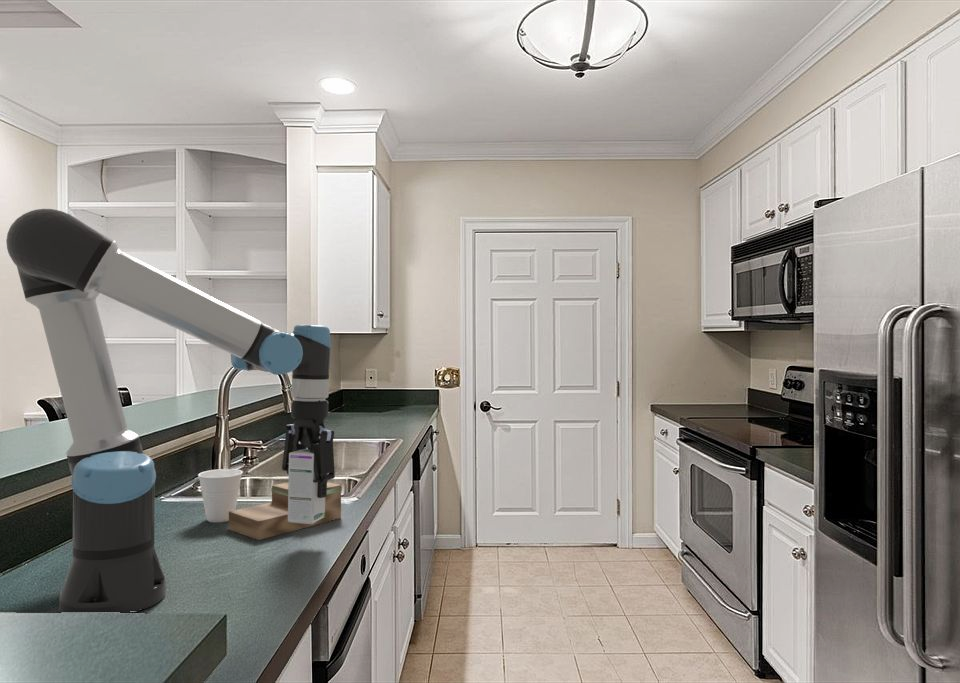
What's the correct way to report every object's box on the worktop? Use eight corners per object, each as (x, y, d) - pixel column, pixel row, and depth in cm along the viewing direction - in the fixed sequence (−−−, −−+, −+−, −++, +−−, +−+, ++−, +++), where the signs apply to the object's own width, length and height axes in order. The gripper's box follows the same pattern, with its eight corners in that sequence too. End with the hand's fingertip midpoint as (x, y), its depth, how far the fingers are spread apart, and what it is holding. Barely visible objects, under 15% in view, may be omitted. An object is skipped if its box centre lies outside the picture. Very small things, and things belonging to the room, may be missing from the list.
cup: (191, 518, 154) (191, 472, 154) (233, 511, 161) (233, 467, 161) (206, 527, 147) (206, 479, 147) (249, 520, 154) (249, 473, 154)
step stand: (260, 540, 138) (260, 503, 138) (228, 529, 146) (228, 493, 146) (343, 518, 155) (343, 485, 155) (310, 509, 163) (310, 477, 163)
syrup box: (313, 524, 132) (315, 453, 132) (286, 522, 133) (288, 451, 133) (325, 517, 137) (327, 448, 137) (299, 515, 138) (301, 447, 138)
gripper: (355, 402, 132) (352, 515, 131) (296, 395, 145) (292, 498, 144) (325, 403, 126) (321, 522, 126) (266, 396, 139) (262, 503, 138)
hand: (306, 509), depth 135 cm, fingers closed on syrup box, 7 cm apart
